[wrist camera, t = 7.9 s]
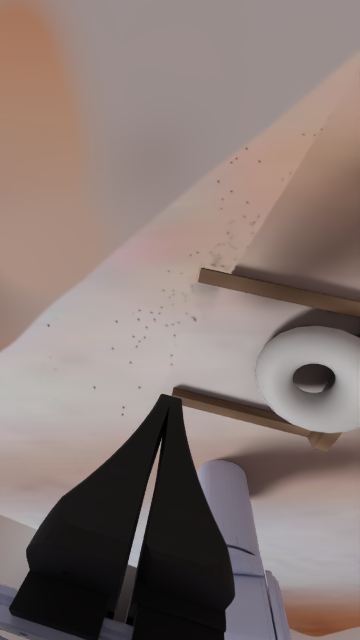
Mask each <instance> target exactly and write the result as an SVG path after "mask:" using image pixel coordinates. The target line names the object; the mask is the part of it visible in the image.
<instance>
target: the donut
mask: <svg viewBox="0 0 360 640" xmlns="http://www.w3.org/2000/svg"><path fill="white" fill-rule="evenodd" d="M306 364H321V365H325V366H327V367H329V368H330V369H331V370H332V371H333V372H334V374H335V379H336V380H335V382H334V385H333V386H332V387H331V388H330V389H328V390H326V391H324V392H319V393H309V392H305V391H303V390H301V389H299V388H298V387H297V386H296V385H295V384H294V382H293V374H294V372H295V371H296V370H297V369H298V368H299V367H301V366H303V365H306ZM255 376H256V384H257V388H258V389H259V391H260V393H261V395H262V397H263V399H264V401H265V402H266V403H267V404H268V405H269V406H270V407H271V409H272V410H273V411H274V412H275V413H276V414H277V415H279V416H281V417H282V418H284V419H285V420H287V421H288V422H290V423H292V424H293V425H296V426H299V427H302V428H305V429H307V430H310V431H317V432H325V433H338V432H347V431H352V430H355V429H357V428H360V338H358V337H356V336H354V335H352V334H350V333H348V332H346V331H343V330H340V329H335V328H329V327H324V326H305V327H296V328H294V329H291V330H288V331H285V332H283V333H280V334H279V335H277V336H276V337H275V338H273V339H272V340H271V341H269V342H268V343H267V344H266V345H265V347H264V348H263V350H262V351H261V353H260V354H259V356H258V359H257V363H256V367H255Z"/></svg>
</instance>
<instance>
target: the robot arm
mask: <svg viewBox="0 0 360 640" xmlns="http://www.w3.org/2000/svg"><path fill="white" fill-rule="evenodd" d="M161 439H162V442H161ZM160 442H161V449H160V456H159V463H158V470H157V477H156V482H155V488H154V493H153V497H152V502H151V506H150V511H149V516H148V520H147V525H146V529H145V534H144V539H143V543H142V548H141V552H140V557H139V561H138V566H137V571H136V575H135V580H134V584H133V589H132V594H131V598H130V603H129V607H128V611H127V616H126V620H125V624H124V623H121V622H118V621H115V620H113V617H114V613H115V610H116V609H117V605H118V600H119V597H120V593H121V588H122V585H123V581H124V576H125V572H126V568H127V564H128V560H129V556H130V552H131V548H132V544H133V540H134V536H135V532H136V527H137V523H138V519H139V515H140V511H141V507H142V503H143V499H144V495H145V491H146V487H147V483H148V480H149V476H150V473H151V470H152V467H153V464H154V461H155V458H156V455H157V452H158V448H159V445H160ZM26 556H27V561H28V564H29V568H30V571H29V572H28V574H27V576H26V578H25V580H24V582H23V583H22V585H21V587H20V589H19V590H18V589H15V588H12V587H9V586H6V585H3V584H0V630H3V631H6V632H9V633H12V634H15V635H18V636H21V637H24V638H27V639H30V640H291V636H290V631H289V626H288V622H287V617H286V613H285V608H284V604H283V599H282V595H281V591H280V587H279V583H278V581H277V579H276V578H275V577H274V576H273V575H272V572H271V571H267V570H265V572H266V577H267V583H268V590H267V585H266V579H265V574H264V569H263V565H262V560H261V557H260V552H259V546H258V540H257V535H256V529H255V524H254V518H253V513H252V507H251V501H250V496H249V490H248V485H247V479H246V475H245V472H244V471H243V470H242V468H241V467H239V466H238V465H236V464H234V463H232V462H229V461H224V460H212V461H208V462H205V463H204V464H202V465H201V466H200V467H199V469H198V472H197V473H196V470H195V466H194V463H193V460H192V456H191V453H190V449H189V445H188V441H187V436H186V431H185V426H184V420H183V411H182V399H181V398H177V397H173V396H169V395H165V394H161V395H160V397H159V399H158V401H157V402H156V404H155V406H154V407H153V409H152V410H151V412H150V413H149V415H148V416H147V417H146V419H145V420H144V421H143V423H142V424H141V425H140V426H139V427H138V429H137V430H136V431H135V432H134V433H133V435H132V436H131V437H130V438H129V439H128V440H127V441H126V442H125V443H124V444H123V445H122V446H121V447H120V448H119V449H118V450H117V451H116V452H115V453H114V454H113V455H112V456H111V457H110V458H109V459H108V460H107V461H106V462H105V463H104V464H102V465H101V466H100V467H99V468H98V469H97V470H96V471H94V472H93V473H92V474H91V475H90V476H89V477H87V478H86V479H85V480H84V481H82V482H81V483H80V484H78V485H77V486H76V487H74V488H73V489H72V490H71V491H69V492H68V493H67V494H65V495H64V496H63V497H62V498H61V499H60V500H59V501H58V502H57V504H56V505H55V506H54V507H53V509H52V510H51V511H50V513H49V514H48V515H47V517H46V518H45V520H44V521H43V522H42V524H41V525H40V527H39V529H38V530H37V532H36V534H35V535H34V537H33V539H32V540H31V542H30V544H29V545H28V547H27V549H26ZM268 592H269V596H268ZM269 598H270V601H269ZM270 603H271V606H270ZM0 640H8V639H6V638H3V637H1V636H0Z"/></svg>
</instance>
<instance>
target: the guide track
mask: <svg viewBox="0 0 360 640" xmlns="http://www.w3.org/2000/svg"><path fill="white" fill-rule="evenodd" d="M198 282H200V283H204V284H209V285H213V286H218V287H223V288H227V289H232V290H236V291H241V292H245V293H250V294H255V295H259V296H264V297H268V298H273V299H277V300H282V301H287V302H291V303H296V304H300V305H305V306H309V307H314V308H319V309H323V310H328V311H332V312H337V313H341V314H346V315H351V316H355V317H360V302H359V301H354V300H350V299H345V298H340V297H336V296H331V295H326V294H322V293H317V292H313V291H308V290H303V289H299V288H294V287H289V286H285V285H280V284H275V283H271V282H266V281H261V280H257V279H252V278H247V277H243V276H238V275H233V274H229V273H224V272H219V271H215V270H210V269H205V268H201V271H200V276H199V280H198ZM357 337H358V338H360V335H359V334H358V336H357ZM335 380H336V379H335V374H333V375H332V377H331V379H330V380H329V382H328V383H327V385H326V387H325V388H324V390H323V391H322V392H324V391H326V390H328V389H330V388H331V387H332V386H333V385H334V382H335ZM172 396H173V397H177V398H181V399H182V405H183V406H187V407H191V408H195V409H198V410H202V411H206V412H210V413H214V414H218V415H222V416H226V417H230V418H234V419H238V420H242V421H246V422H250V423H253V424H257V425H261V426H265V427H269V428H273V429H277V430H281V431H285V432H289V433H293V434H297V435H301V436H305V437H308V439H309V441H310V443H311V445H312V447H313V448H314V449H318V450H322V451H326V452H328V450H329V449H330V448H331V446H332V445H333V444H334V442H335V441H336V440H337V439H338V437H339V436H340V435H341V433H342V432H338V433H325V432H317V431H310V430H307V429H305V428H302V427H299V426H296V425H293V424H292V423H290V422H288V421H287V420H285V419H284V418H282V417H281V416H279V415H277V414H276V413H272V412H268V411H264V410H260V409H256V408H252V407H248V406H244V405H240V404H236V403H232V402H228V401H224V400H220V399H216V398H212V397H208V396H204V395H200V394H196V393H192V392H188V391H184V390H180V389H176V388H174V389H173V393H172Z"/></svg>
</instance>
